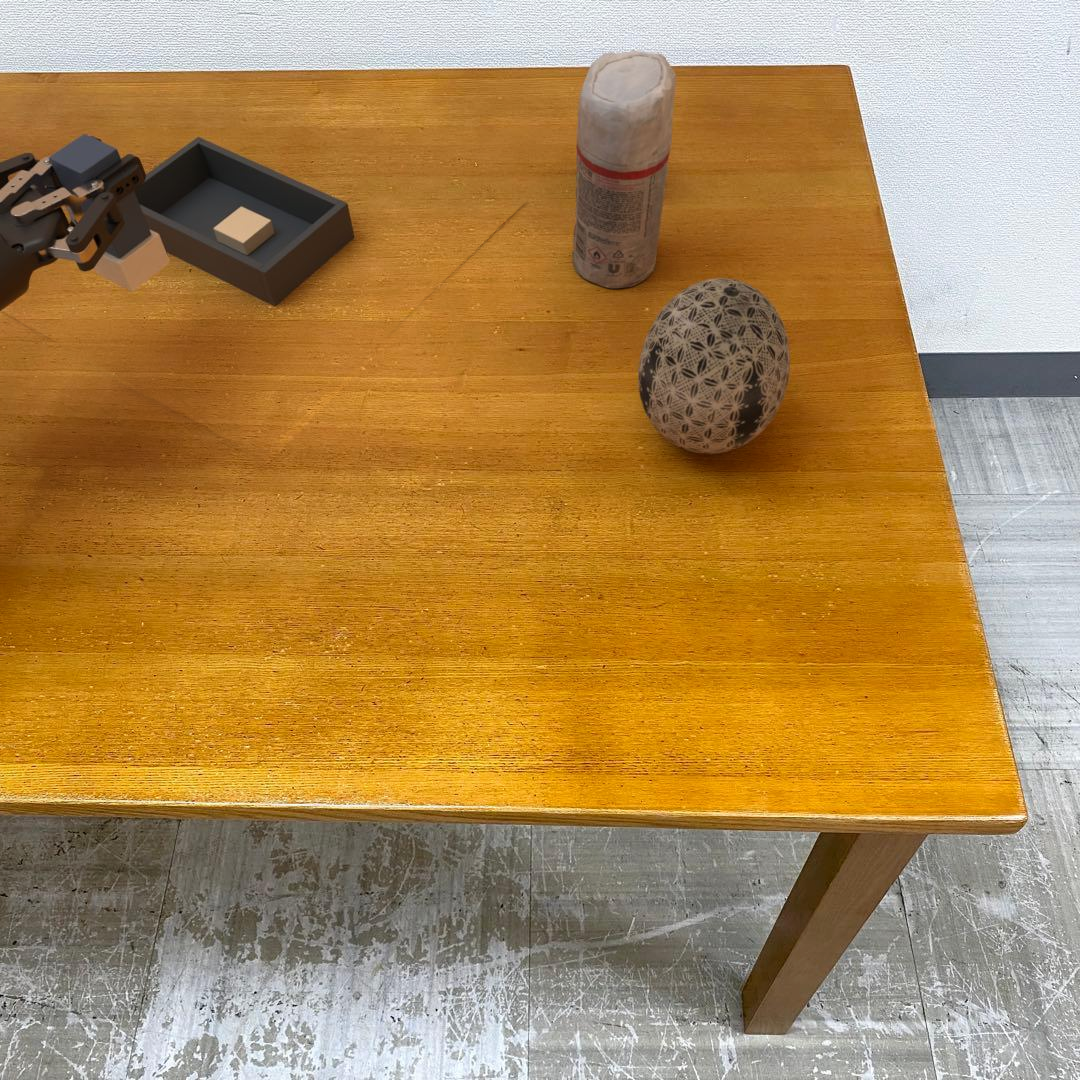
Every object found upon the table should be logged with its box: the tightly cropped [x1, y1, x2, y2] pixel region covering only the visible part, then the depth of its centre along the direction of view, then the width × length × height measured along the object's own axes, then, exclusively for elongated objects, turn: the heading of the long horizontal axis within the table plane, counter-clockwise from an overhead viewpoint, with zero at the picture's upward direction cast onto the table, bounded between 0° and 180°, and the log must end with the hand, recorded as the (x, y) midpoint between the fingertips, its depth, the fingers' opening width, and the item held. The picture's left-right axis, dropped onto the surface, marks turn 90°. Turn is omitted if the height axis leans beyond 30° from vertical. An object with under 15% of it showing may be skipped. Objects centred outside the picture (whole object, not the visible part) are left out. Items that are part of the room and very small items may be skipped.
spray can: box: [571, 49, 677, 289], centre depth 89 cm, size 8×8×20 cm
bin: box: [134, 136, 355, 307], centre depth 99 cm, size 20×12×5 cm, turn 56°
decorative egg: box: [637, 277, 791, 455], centre depth 80 cm, size 12×12×15 cm
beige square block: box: [213, 206, 275, 255], centre depth 99 cm, size 4×4×2 cm
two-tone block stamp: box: [49, 133, 171, 293], centre depth 81 cm, size 4×4×11 cm
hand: (119, 156), depth 79 cm, fingers closed on two-tone block stamp, 3 cm apart
